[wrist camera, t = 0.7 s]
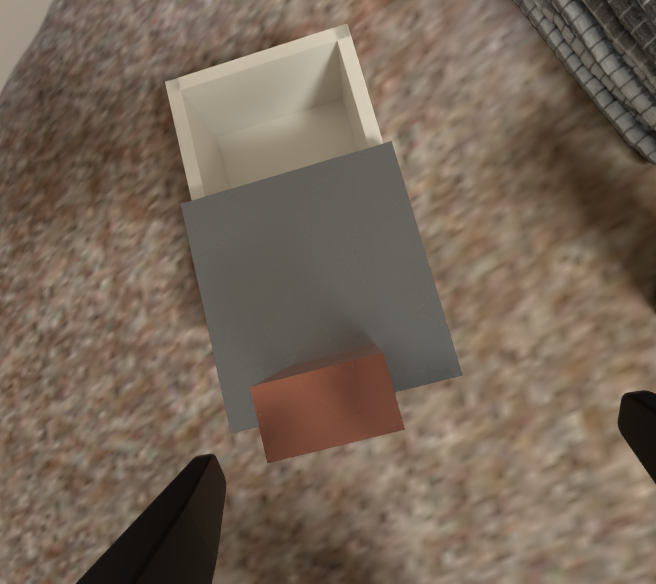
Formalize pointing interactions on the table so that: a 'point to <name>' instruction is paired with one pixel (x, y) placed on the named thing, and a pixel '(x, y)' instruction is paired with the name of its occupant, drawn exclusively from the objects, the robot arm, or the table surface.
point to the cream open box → (272, 112)
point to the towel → (607, 58)
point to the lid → (318, 302)
